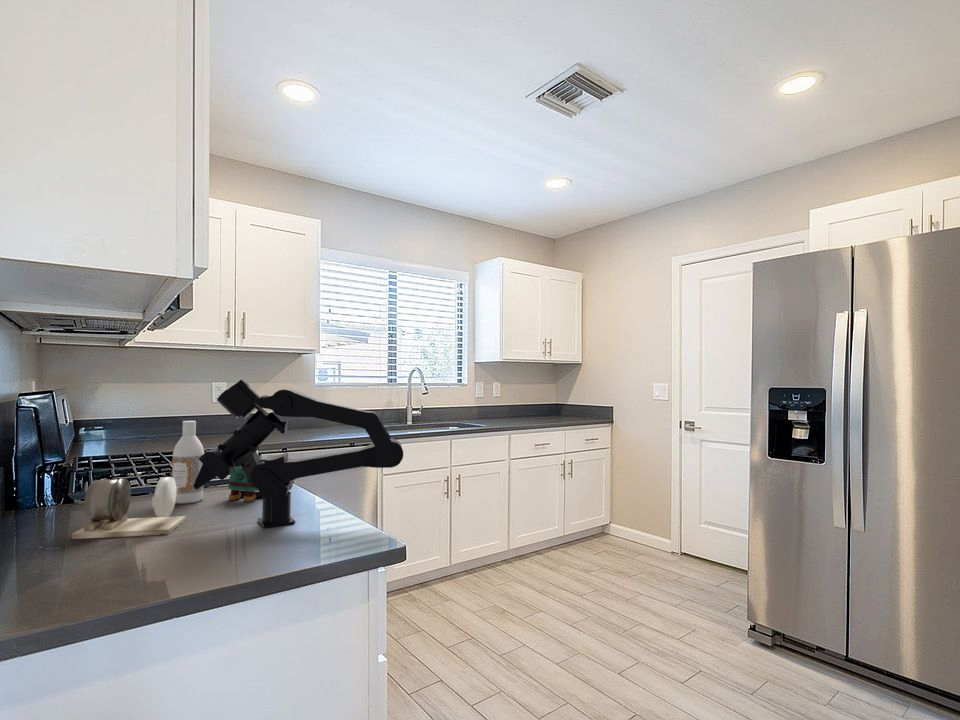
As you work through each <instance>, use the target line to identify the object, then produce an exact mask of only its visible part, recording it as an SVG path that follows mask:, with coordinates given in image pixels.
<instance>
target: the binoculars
mask: <svg viewBox="0 0 960 720" xmlns="http://www.w3.org/2000/svg"><path fill="white" fill-rule="evenodd" d="M234 469H235V471H234V472H232V473H230V475H229V481H228V490H230V493H229V495H228V500H231V501H235V500H237V499H240V498H241V497H243V501H244V502H252V501H254V500H255V499H256V498H258V497H261V495H260V493H259V490H258V488H256V487H255V486H254V485H253V484H249V483H248V481H247V477H246V475H245V473H244V471H243V469H242V466H241V467H237V466H236V465H235V464H234Z"/></svg>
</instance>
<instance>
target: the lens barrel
mask: <svg viewBox="0 0 960 720" xmlns="http://www.w3.org/2000/svg"><path fill="white" fill-rule="evenodd" d="M131 493H132V492H131V484H130V482H129V480H128V479H127V478H124V477H123V478H122V477H121V478H118V479H95V480H93V481H92V482H90V484H89V485H88V488H87V490H86V492H85V495H84V501H83V511H84V512H83V513H84V516H85V518H86V519H87V520H88V522H91V521H100V520H114V521H120V520H122V519H123V518H124V517H125V515H127V513H128V511H129V509H130V504H131V497H132V496H131Z"/></svg>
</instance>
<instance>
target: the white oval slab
mask: <svg viewBox="0 0 960 720" xmlns="http://www.w3.org/2000/svg"><path fill="white" fill-rule="evenodd" d="M177 495H178V487H176V483H175V480H174V478H173V477H172V476H163V477H160V478H159V479H158V482H157V483H156V485H155V489H154V494H153V496H152V498H151V507H152V508H153V509H154V514H155V516H156V517H171V514H172V513H173V512H174V509H175V505H176V503H175V501H176V497H177Z"/></svg>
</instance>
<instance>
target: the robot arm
mask: <svg viewBox="0 0 960 720" xmlns="http://www.w3.org/2000/svg"><path fill="white" fill-rule="evenodd" d="M216 402H218V403H219V404H220V405H221V406H222V407H223V408H224V409H225V410H226V411H227V412H228V413H229V414H230V415H231V416H232V417H233V418H234V419H240V418H242V419H243V420H244V419H246V418H247V417H249V416H250V417H249V418H248V419H246V421H245V422H244V423H242V424H241V425H240V426H239V427H238V428H236V429H235V430H234V431H233V432H232V434H231V435H230V436H229V437H228V438H227V439H225V440H224V441H223V442H222V443H220V444H219V445H218V446H217V448H218V449H217V448H216V449H215V448H214V449H208V450H207V451H204V454H203V455H202V456H201V457H200V458H199V460H200V461H201V462H202V463H203V465H202V467H201V469H200V472H199V474H198V476H197V478H196V480H195V483H194V485H193V487H194V488H195V489H198V488H200V487H201V486H203V487H204V485H206V484H207V483H209V482H210V481H212V480H214V479H215V478H216V477H217V478H218V479H219V480H221V481H223V480H225V479H226V478H227V477H228V476H230V473H232V472H234V471H235V469H234V466H235V465H236V466H237V467H241V466H242V469H243V471H244V473H245V475H246V477H247V481H248V483H249V484H253V485H254V486H255V487H256V488H258V492H259V493H260V495H261V496H260V498H261V499H262V508H261V509H262V512H261V513H262V514H261V517H258V518H257V523H259V524H260V526H262V527H263V528H272V527H279V526H284V525H285V526H286V525H292V524H295V523H296V520H295V519H294V518H293V517H292V516H291V508H292V507H291V505H292V503H291V502H292V500H291V499H292V492H290V490H292V488H293V485H294V482H295V480H297V479H300V478H306V477H310V476H317V475H322V474H328V473H334V472H340V471H344V470H345V471H346V470H351V469H357V468H361V467H365V468H376V469H380V468H381V469H383V468H384V469H385V468H386V469H387V468H389V469H391V468H395V467H397V466H398V465H400V464H401V462H402V461H403V459H404V450H403V447H402V444H401V443H400V441H398V440H397V439H395V438H393V437H391V435H390V433H389V432H388V431H387V428H386V427H385V426H384V424H383V423H382V421H381V420H380V416H379V415H378V414H377V413H376V412H375V411H372V410H371V411H369V410H362V409H359V408H353V407H349V406H344V405H340V404H336V403H332V402H327V401H323V400H318V399H315V398H313V397H312V396H309V395H307V394H304V393H303V392H300V391H298V390H295V389H293V388H284V389H279V390H277V391H276V392H274V393H273V394H272V395H267V394H265V395H262V396H260V395H259V394H258V393H257V392H256V391H255V390H254V389H253V388H252V387H251V386H250V385H249V383H248V382H247V380H245V379H240V380H239V381H238V382H236V383H234V384H233V385H231V387H228V388H227V389H225V390H223V392H222V393H220V394H219V396H218V397H217V398H216ZM265 409H267V410H272V411H271V412H268V411H266V410H265ZM255 410H256V411H255ZM254 411H255V413H254ZM252 413H253V414H252ZM251 414H252V415H251ZM280 417H287V418H289V417H290V418H291V417H292V418H316V419H319V420H325V421H329V422H333V423H334V422H335V423H338V424H344V425H348V426H351V427H356V428H362V429H364V430H365V432H366V434H367V435H368V437H369V438H370V440H371V442H372V443H371V444H368V445H365V446H364V447H361V448H357V449H351V450H346V451H340V452H334V453H328V454H327V453H326V454H322V455H315V456H310V457H304V458H298V459H297V458H289V452H284V453H282V454H280V455H279V454H278V455H272V454H269V456H267V457H266V458H261V456H260V455H259V454H258V450H260V448H261V445H262V444H263V443H265V441H266V440H267V439H269V437H271V435H272V434H273V433H275V432H276V431H279V432H280V433H281V434H282V435H285V434H286V433H288V423H289V421H288V420H287V419H286V420H282V419H281V418H280Z"/></svg>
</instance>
